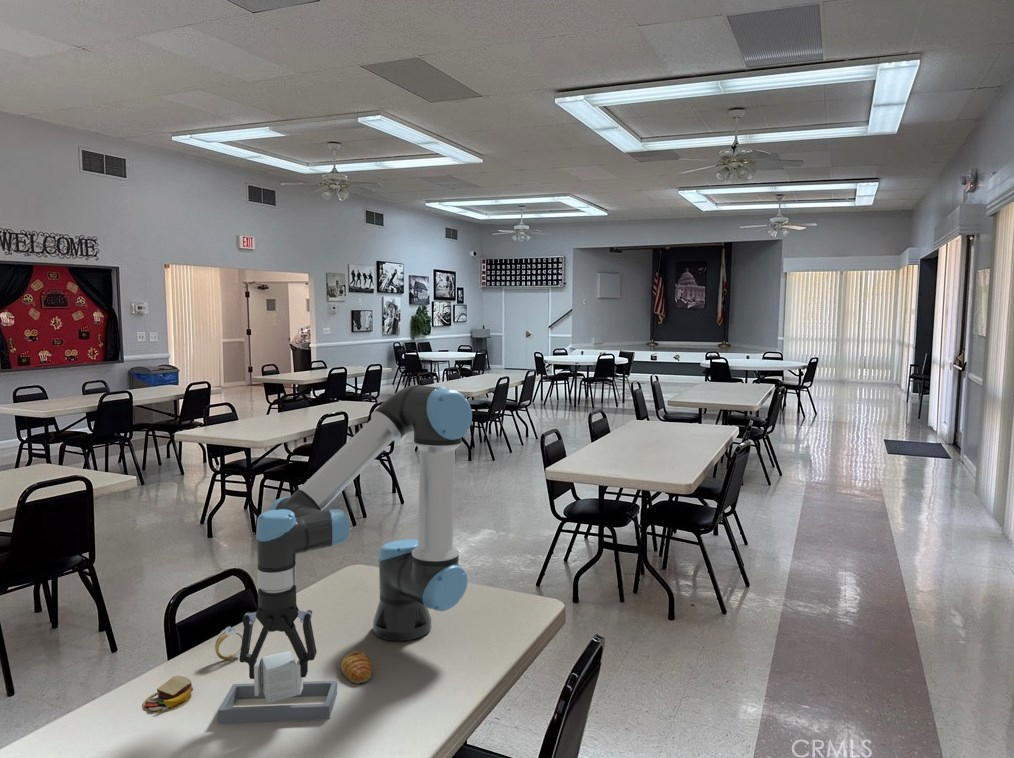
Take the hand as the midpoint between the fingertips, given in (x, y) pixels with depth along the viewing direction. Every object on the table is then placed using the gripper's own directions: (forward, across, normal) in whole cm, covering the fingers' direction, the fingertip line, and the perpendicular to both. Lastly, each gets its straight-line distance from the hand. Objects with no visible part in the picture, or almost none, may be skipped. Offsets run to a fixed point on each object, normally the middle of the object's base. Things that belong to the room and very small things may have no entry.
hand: (279, 691), depth 146 cm
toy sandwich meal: (+5, +24, -5) cm, 25 cm away
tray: (+4, 0, 0) cm, 4 cm away
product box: (+1, 0, 0) cm, 1 cm away
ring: (+4, +17, -23) cm, 29 cm away
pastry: (+5, -13, -11) cm, 17 cm away
